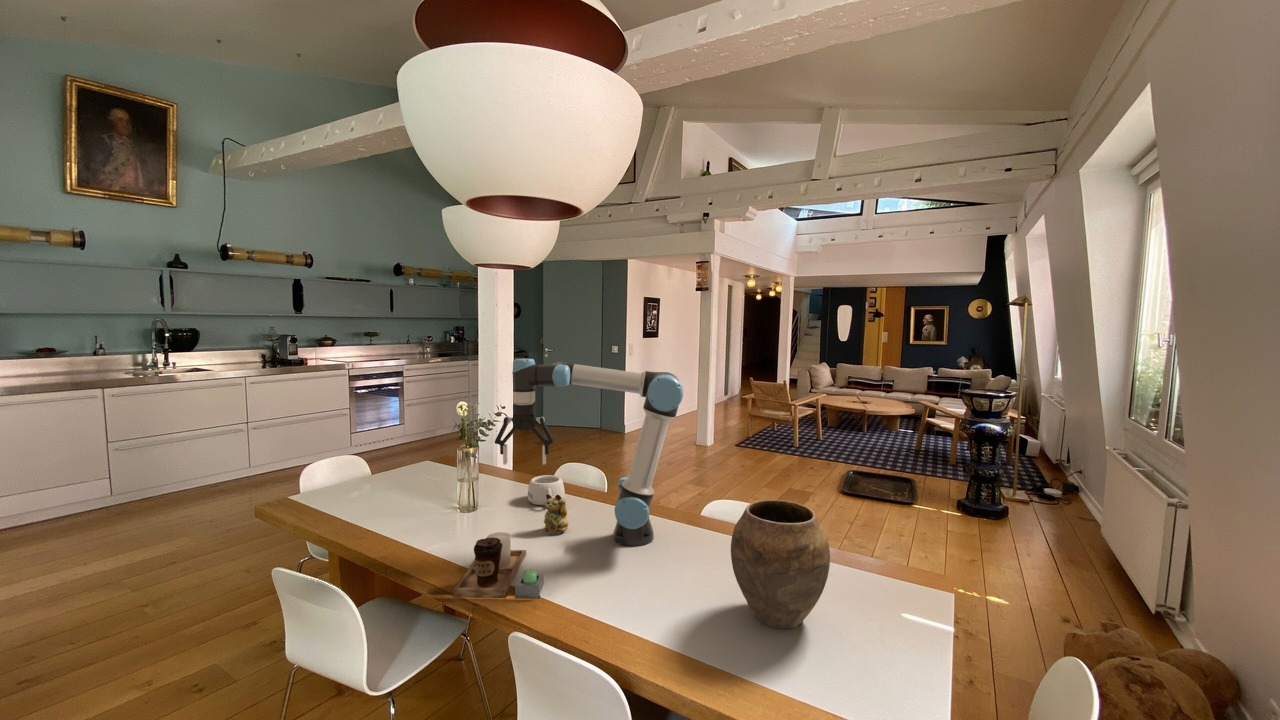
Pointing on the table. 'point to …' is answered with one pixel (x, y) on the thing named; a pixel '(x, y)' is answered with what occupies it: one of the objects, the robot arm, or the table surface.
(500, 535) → the seated billet
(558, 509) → the decorative figurine
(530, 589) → the button housing
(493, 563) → the coffee cup
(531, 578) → the button
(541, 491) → the mug
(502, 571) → the wooden tray
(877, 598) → the table surface
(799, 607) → the vase
